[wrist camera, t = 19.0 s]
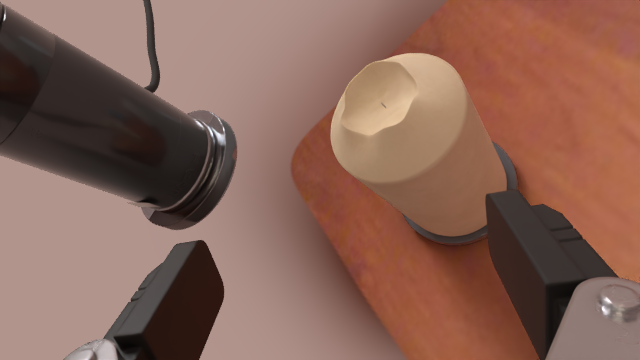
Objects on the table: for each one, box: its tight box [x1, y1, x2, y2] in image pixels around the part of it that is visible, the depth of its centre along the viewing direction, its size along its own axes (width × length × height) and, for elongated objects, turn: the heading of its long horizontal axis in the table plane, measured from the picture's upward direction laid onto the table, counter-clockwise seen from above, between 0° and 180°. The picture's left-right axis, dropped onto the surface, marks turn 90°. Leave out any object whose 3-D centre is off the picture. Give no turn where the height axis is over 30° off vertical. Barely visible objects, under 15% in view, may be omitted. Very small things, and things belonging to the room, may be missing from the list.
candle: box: [331, 53, 507, 236], centre depth 18 cm, size 6×6×10 cm
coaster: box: [402, 141, 518, 246], centre depth 22 cm, size 6×6×1 cm
